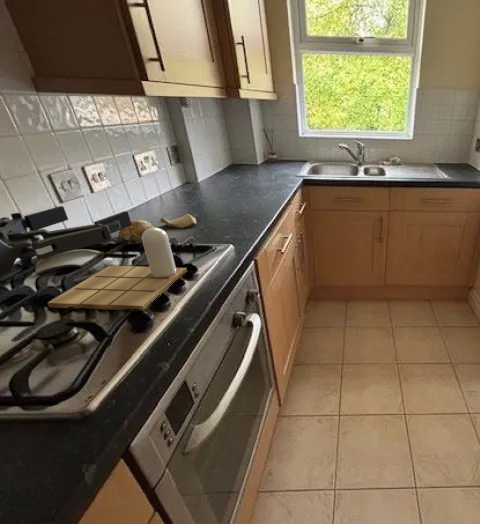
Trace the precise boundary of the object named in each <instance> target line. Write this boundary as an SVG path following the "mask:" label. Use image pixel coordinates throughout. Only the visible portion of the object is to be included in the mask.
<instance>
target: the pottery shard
mask: <svg viewBox="0 0 480 524" xmlns="http://www.w3.org/2000/svg"><path fill="white" fill-rule="evenodd" d="M159 221H160V222H161V223H163V224H165V225H166V227H167V226H168V227H172V228H177V229H186V228H189V227H191V226H196V225H197V224H198V221H197V219H196V217H195V216H192V215H191V214H189V213H185V214H184V215H183V216H181V217H176V218H172V219H166V218H165V217H161V218H160V219H159Z"/></svg>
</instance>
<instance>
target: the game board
mask: <svg viewBox="0 0 480 524" xmlns="http://www.w3.org/2000/svg"><path fill="white" fill-rule="evenodd" d="M186 272H187V273H188V269H187V267H176V272H175V273H174V274H172V275H169V276H165V277H154V276H152V274H151V271H150V267H149V266H138V265H134V266H133V265H108V266H106V267H104V268H103V269H101V270H100V271H97V272H96V273H95V274H93V275H91V276H90V277H88V278H86V279H85V280H83V281H81V282H79V283H77V284H76V285H75V286H73V287H72V288H69V289H68V290H66V291H64V292H63V293H61V294H59V295H58V296H57V297H55V298H53V299H51V300H50V301H47V305H48V308H51V309H69V308H68V307H74V308H73V309H80V308H84V309H83V310H113V311H114V310H115V311H116V310H117V311H127V310H126V309H140V310H139V311H145V310H146V309H147V308H148V307H149V306H150V305H151V304H152V303H151V302H153V301H154V300H155V299H156V298H157V297H158V296H159V295H160V296H162V295H163V294H164V293H165V292H166V291H168V290H169V289H170V288H171V287H172V286H173V285H174V284H175V283H176V282H177V281H179V280H180V279H181V278H182V277H183V276H184V275H185V274H187V273H186ZM184 273H185V274H184ZM183 274H184V275H183ZM182 275H183V276H182ZM181 276H182V277H181ZM180 277H181V278H180ZM179 278H180V279H179ZM178 279H179V280H178ZM176 280H177V281H176ZM175 281H176V282H175ZM174 282H175V283H174ZM173 283H174V284H173ZM172 284H173V285H172ZM171 285H172V286H171ZM170 286H171V287H170ZM169 287H170V288H169ZM163 292H164V293H163ZM162 293H163V294H162ZM161 294H162V295H161ZM160 296H159V297H160ZM159 297H158V298H159ZM158 298H157V299H158ZM157 299H156V300H157ZM156 300H155V301H156ZM155 301H154V302H155ZM154 302H153V303H154ZM150 303H151V304H150ZM149 304H150V305H149ZM148 305H149V306H148ZM85 308H86V309H85Z"/></svg>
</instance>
